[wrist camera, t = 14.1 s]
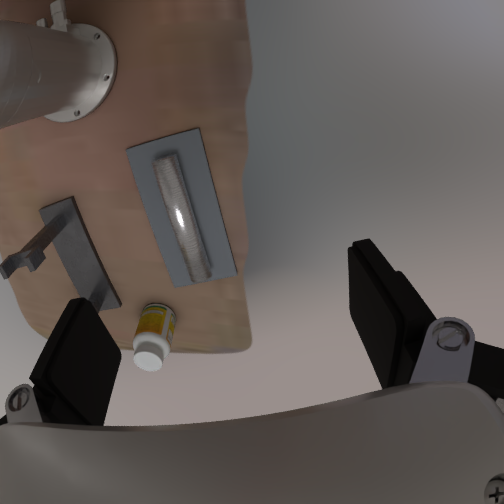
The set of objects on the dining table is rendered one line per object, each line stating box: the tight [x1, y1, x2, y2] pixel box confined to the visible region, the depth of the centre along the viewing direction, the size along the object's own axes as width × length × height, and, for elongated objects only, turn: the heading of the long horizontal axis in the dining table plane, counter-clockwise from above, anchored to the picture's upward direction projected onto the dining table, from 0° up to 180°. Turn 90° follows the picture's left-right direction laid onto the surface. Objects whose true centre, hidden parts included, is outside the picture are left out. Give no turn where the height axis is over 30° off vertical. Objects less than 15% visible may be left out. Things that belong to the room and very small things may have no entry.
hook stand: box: [0, 196, 122, 313], centre depth 35 cm, size 18×6×13 cm, turn 11°
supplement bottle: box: [133, 304, 176, 371], centre depth 43 cm, size 5×5×10 cm
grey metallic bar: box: [151, 154, 212, 283], centre depth 37 cm, size 16×3×3 cm, turn 12°
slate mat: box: [126, 128, 237, 288], centre depth 39 cm, size 20×9×1 cm, turn 11°
